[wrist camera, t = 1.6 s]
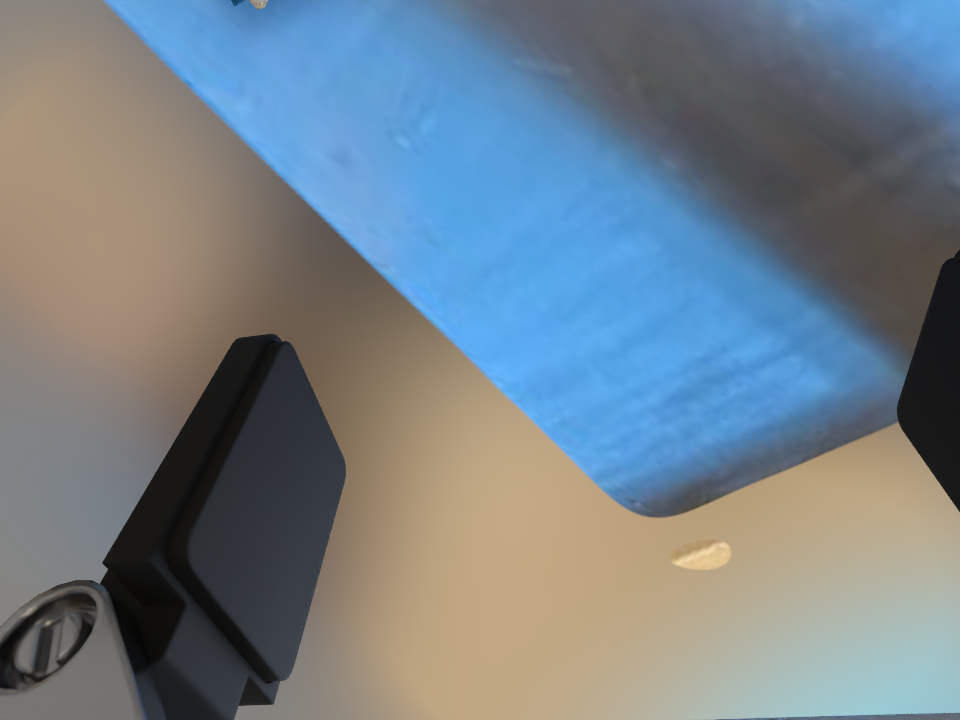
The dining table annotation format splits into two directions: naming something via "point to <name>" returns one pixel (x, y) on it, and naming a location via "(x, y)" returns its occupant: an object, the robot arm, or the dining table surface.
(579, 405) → the dining table surface
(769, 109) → the dining table surface
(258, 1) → the woven mat
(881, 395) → the dining table surface
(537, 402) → the dining table surface
